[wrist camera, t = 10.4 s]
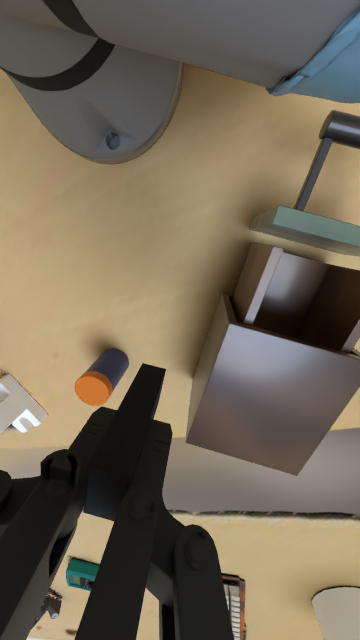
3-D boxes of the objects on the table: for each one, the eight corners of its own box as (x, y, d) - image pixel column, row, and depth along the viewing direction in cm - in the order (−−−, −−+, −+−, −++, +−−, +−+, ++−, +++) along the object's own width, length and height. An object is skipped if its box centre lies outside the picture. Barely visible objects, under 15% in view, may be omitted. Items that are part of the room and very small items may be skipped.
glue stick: (109, 342, 31) (83, 369, 25) (134, 358, 32) (115, 389, 25) (96, 362, 33) (69, 393, 26) (120, 377, 33) (99, 411, 27)
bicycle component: (0, 583, 61) (27, 606, 66) (-14, 624, 54) (17, 646, 59) (44, 561, 63) (67, 585, 68) (35, 597, 56) (61, 621, 61)
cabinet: (221, 292, 27) (229, 322, 17) (313, 317, 26) (376, 364, 16) (192, 379, 32) (185, 442, 22) (269, 401, 31) (297, 476, 21)
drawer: (279, 142, 20) (327, 75, 12) (389, 170, 20) (515, 121, 12) (217, 323, 27) (220, 359, 19) (297, 346, 27) (336, 392, 19)
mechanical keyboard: (162, 566, 51) (159, 587, 48) (245, 575, 48) (247, 598, 45) (179, 635, 64) (177, 656, 61) (245, 645, 61) (247, 668, 58)
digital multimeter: (125, 584, 57) (121, 602, 54) (71, 570, 57) (65, 587, 55) (127, 570, 54) (123, 588, 51) (71, 556, 55) (63, 572, 52)
